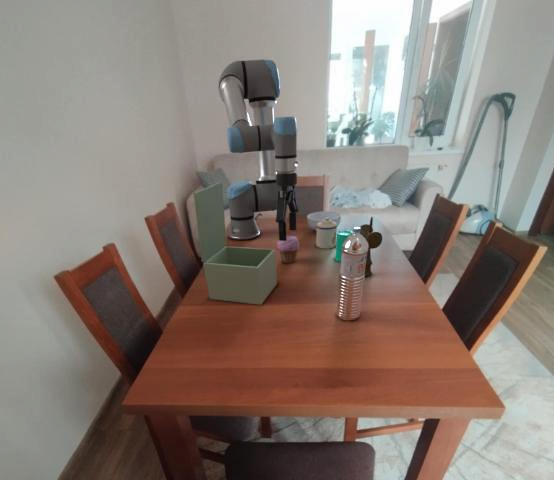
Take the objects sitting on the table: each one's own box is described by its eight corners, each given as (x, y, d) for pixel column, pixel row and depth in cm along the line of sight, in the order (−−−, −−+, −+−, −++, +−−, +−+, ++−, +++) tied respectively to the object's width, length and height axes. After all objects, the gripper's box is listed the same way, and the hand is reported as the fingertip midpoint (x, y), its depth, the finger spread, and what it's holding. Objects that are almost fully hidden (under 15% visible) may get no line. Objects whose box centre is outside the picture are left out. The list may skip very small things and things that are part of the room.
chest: (277, 283, 118) (275, 249, 110) (261, 304, 106) (258, 267, 98) (230, 279, 123) (225, 246, 115) (209, 299, 111) (202, 263, 103)
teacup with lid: (336, 248, 144) (338, 220, 136) (315, 249, 144) (316, 221, 137) (335, 240, 153) (337, 213, 146) (315, 240, 154) (316, 213, 146)
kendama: (367, 269, 125) (374, 212, 112) (377, 279, 117) (386, 219, 105) (352, 270, 124) (358, 214, 111) (361, 281, 116) (368, 221, 104)
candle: (351, 257, 135) (354, 226, 127) (347, 262, 131) (350, 231, 123) (337, 255, 137) (339, 225, 129) (333, 260, 133) (335, 229, 125)
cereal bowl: (308, 225, 173) (308, 211, 169) (339, 225, 171) (340, 210, 167) (305, 235, 160) (305, 220, 156) (340, 235, 158) (341, 219, 154)
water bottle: (345, 323, 94) (354, 233, 79) (331, 313, 99) (337, 227, 84) (364, 317, 97) (376, 228, 81) (350, 308, 101) (359, 222, 86)
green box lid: (222, 182, 102) (220, 181, 103) (196, 193, 90) (193, 192, 90) (226, 245, 115) (224, 244, 115) (203, 262, 103) (201, 261, 103)
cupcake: (274, 259, 137) (273, 234, 131) (293, 256, 139) (293, 231, 133) (283, 266, 130) (282, 241, 124) (302, 262, 133) (302, 237, 126)
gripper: (286, 177, 105) (288, 245, 118) (305, 167, 123) (305, 226, 136) (264, 178, 107) (268, 244, 120) (286, 167, 125) (288, 226, 138)
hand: (288, 235), depth 128 cm, fingers open, 13 cm apart
